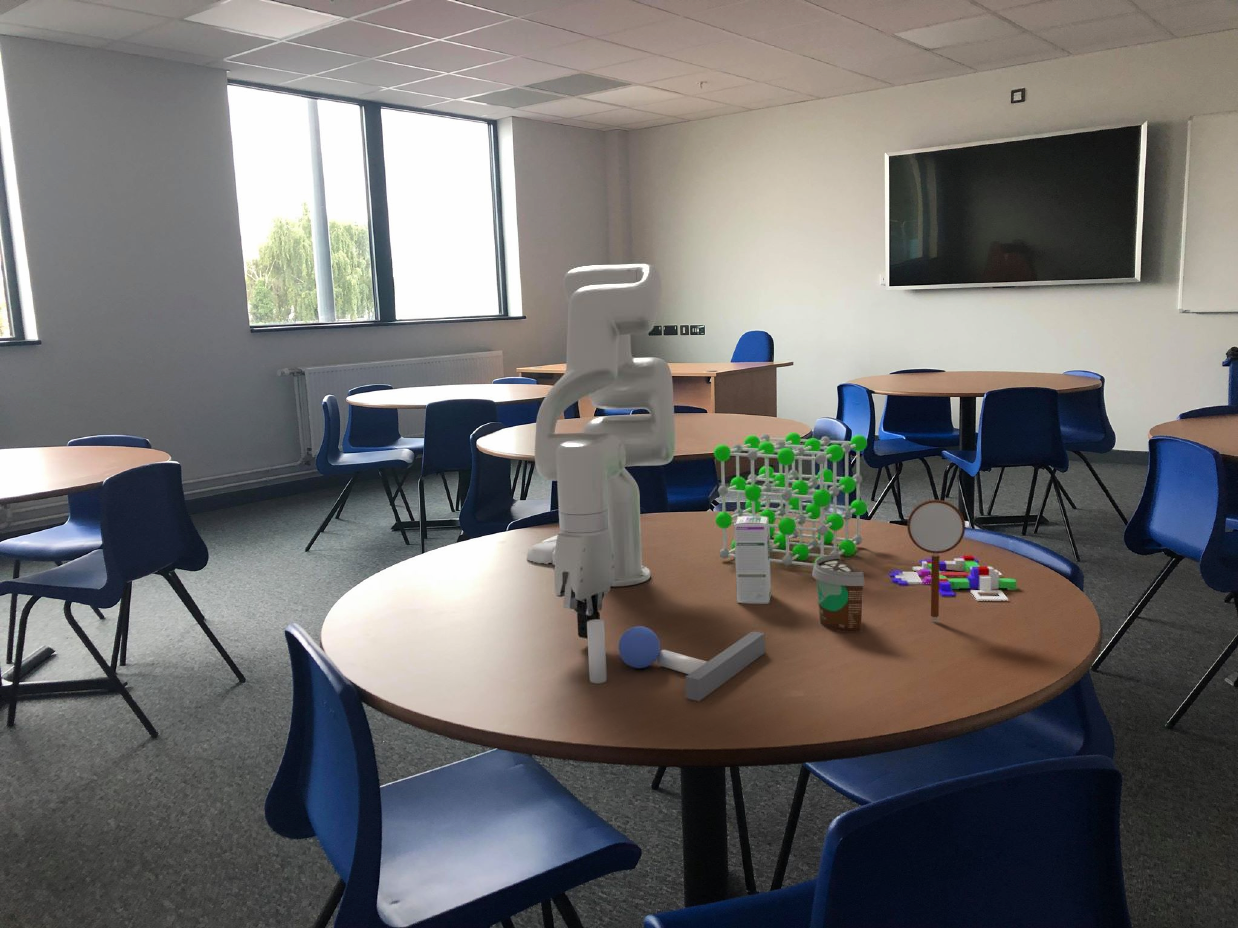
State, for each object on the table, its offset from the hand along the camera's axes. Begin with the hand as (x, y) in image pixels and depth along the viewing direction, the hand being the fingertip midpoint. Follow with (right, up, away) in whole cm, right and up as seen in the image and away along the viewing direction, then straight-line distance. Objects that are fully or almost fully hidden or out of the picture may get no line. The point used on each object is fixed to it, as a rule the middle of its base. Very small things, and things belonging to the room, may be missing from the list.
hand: (589, 636), depth 144 cm
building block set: (+65, +5, +27) cm, 71 cm away
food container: (+39, +1, +6) cm, 40 cm away
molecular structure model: (+41, +8, +49) cm, 64 cm away
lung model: (-2, +7, +57) cm, 58 cm away
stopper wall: (+20, -3, -13) cm, 24 cm away
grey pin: (+2, -4, -13) cm, 14 cm away
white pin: (+11, -1, -9) cm, 14 cm away
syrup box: (+28, +3, +20) cm, 35 cm away
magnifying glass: (+55, +1, +5) cm, 55 cm away
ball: (+7, 0, -10) cm, 12 cm away
